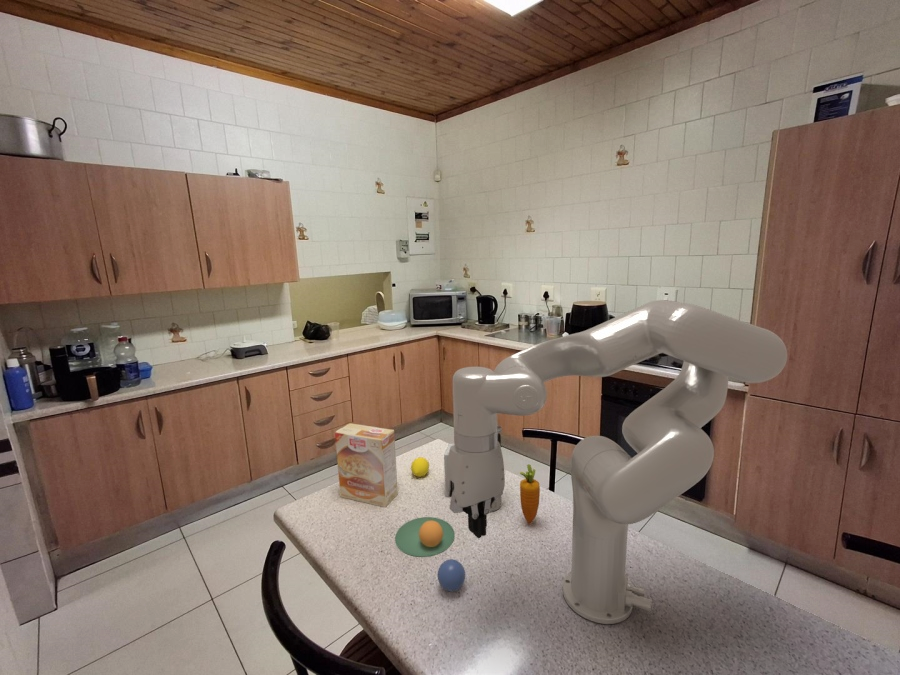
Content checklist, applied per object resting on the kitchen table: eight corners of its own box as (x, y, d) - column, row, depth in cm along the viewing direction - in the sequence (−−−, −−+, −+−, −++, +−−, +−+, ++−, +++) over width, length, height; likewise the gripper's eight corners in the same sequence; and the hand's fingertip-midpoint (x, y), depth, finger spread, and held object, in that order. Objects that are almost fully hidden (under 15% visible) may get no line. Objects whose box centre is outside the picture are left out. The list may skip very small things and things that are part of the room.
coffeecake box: (339, 497, 114) (333, 431, 111) (354, 484, 121) (349, 422, 117) (385, 508, 108) (381, 439, 105) (398, 494, 115) (395, 428, 111)
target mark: (464, 527, 100) (464, 526, 100) (436, 564, 88) (436, 563, 88) (415, 512, 106) (415, 511, 106) (383, 545, 94) (383, 544, 94)
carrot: (535, 532, 97) (536, 474, 94) (516, 526, 99) (516, 469, 97) (542, 521, 101) (543, 465, 98) (523, 515, 104) (524, 460, 101)
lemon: (424, 482, 121) (422, 467, 120) (408, 479, 123) (406, 464, 122) (433, 468, 128) (431, 453, 126) (417, 466, 130) (416, 451, 128)
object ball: (443, 515, 95) (443, 536, 97) (420, 515, 96) (420, 535, 97) (442, 531, 90) (442, 553, 91) (417, 530, 90) (417, 552, 91)
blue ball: (454, 548, 82) (464, 564, 85) (430, 562, 82) (441, 578, 84) (462, 571, 77) (473, 587, 80) (437, 586, 77) (448, 602, 79)
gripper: (497, 422, 78) (498, 509, 81) (427, 440, 71) (431, 535, 74) (523, 435, 71) (523, 529, 75) (449, 458, 64) (452, 561, 68)
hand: (477, 532), depth 74 cm, fingers closed
